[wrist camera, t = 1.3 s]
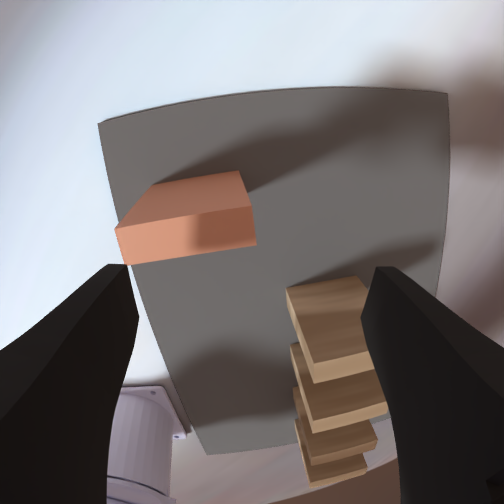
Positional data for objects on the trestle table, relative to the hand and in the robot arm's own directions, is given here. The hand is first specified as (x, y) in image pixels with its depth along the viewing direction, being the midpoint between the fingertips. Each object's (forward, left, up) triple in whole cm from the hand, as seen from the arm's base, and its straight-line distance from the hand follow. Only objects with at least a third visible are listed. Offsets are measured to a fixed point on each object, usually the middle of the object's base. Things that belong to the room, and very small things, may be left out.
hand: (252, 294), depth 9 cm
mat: (+4, -10, -11) cm, 15 cm away
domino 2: (+5, -7, -10) cm, 13 cm away
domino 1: (-2, +1, -10) cm, 10 cm away
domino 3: (+5, -12, -10) cm, 16 cm away
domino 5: (+5, -22, -10) cm, 25 cm away
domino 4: (+5, -17, -10) cm, 20 cm away
